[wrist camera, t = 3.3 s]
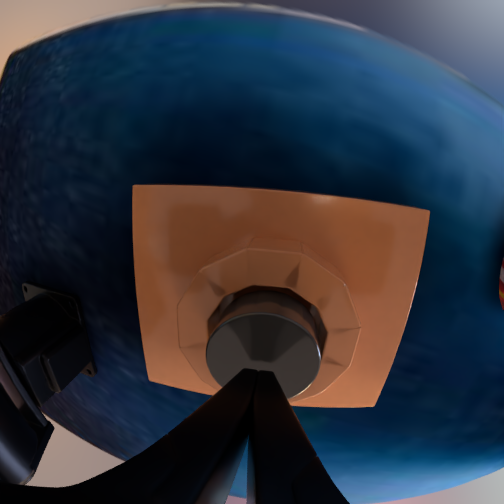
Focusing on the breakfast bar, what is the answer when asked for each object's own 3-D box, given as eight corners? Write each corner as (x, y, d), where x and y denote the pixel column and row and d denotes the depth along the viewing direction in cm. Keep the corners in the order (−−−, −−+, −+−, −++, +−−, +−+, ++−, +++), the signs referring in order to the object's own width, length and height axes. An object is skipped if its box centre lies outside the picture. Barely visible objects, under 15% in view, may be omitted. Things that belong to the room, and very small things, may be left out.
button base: (163, 358, 15) (134, 401, 11) (155, 183, 12) (106, 187, 9) (366, 381, 14) (381, 431, 10) (409, 205, 11) (454, 217, 7)
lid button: (217, 366, 10) (205, 395, 9) (218, 283, 9) (203, 305, 8) (308, 377, 10) (309, 407, 8) (324, 294, 9) (331, 319, 7)
